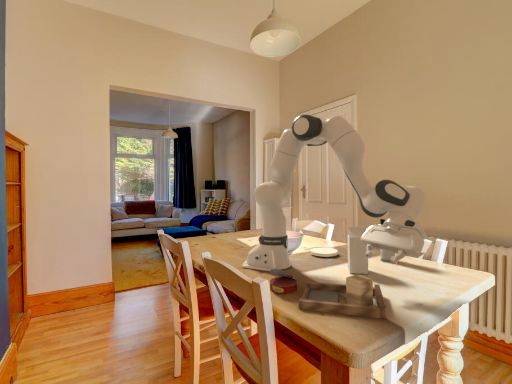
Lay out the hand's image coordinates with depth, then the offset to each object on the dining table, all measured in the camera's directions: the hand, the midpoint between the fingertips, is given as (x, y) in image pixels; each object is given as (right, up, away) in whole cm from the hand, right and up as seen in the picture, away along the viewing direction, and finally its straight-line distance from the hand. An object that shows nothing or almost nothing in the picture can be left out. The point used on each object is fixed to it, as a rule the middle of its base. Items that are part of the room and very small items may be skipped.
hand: (379, 259), depth 90 cm
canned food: (-30, -13, +9) cm, 35 cm away
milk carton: (+3, -12, +27) cm, 29 cm away
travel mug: (+22, -11, +41) cm, 48 cm away
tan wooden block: (-8, -13, -4) cm, 16 cm away
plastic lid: (-4, -12, +55) cm, 57 cm away
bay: (-13, -13, -3) cm, 19 cm away
